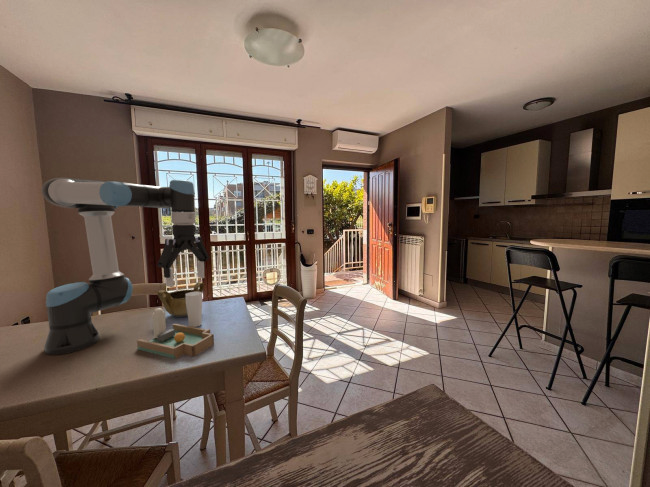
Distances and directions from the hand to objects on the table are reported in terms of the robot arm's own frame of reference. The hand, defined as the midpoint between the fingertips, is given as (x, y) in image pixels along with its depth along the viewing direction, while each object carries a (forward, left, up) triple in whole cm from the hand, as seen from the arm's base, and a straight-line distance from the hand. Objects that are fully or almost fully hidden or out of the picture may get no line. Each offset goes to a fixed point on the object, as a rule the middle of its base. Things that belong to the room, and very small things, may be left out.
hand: (186, 281), depth 95 cm
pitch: (-6, +1, -26) cm, 26 cm away
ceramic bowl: (-31, +25, -26) cm, 47 cm away
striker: (-15, +1, -24) cm, 28 cm away
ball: (-6, +1, -23) cm, 23 cm away
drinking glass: (-15, +17, -26) cm, 34 cm away
